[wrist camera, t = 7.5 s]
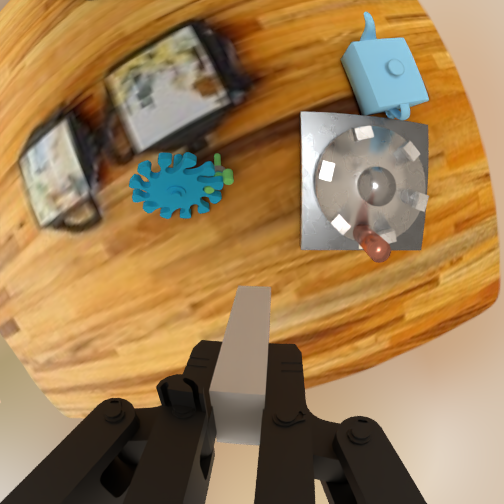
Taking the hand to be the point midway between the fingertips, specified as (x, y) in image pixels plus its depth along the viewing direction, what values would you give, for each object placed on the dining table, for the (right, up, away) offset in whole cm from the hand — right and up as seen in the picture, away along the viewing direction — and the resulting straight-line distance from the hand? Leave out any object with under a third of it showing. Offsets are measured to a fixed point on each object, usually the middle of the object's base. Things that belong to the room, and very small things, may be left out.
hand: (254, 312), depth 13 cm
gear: (-7, +11, +19) cm, 23 cm away
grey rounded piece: (+13, +10, +15) cm, 22 cm away
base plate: (+13, +11, +17) cm, 24 cm away
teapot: (+13, +23, +13) cm, 30 cm away
